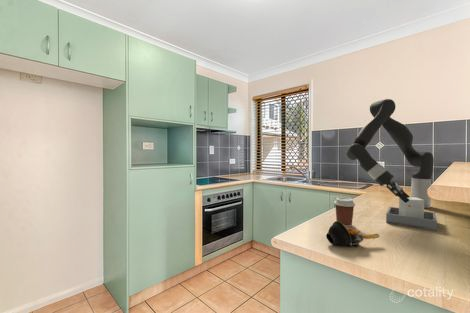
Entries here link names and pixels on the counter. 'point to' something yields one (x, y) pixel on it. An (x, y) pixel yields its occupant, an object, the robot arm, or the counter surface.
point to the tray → (412, 219)
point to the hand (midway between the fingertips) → (407, 199)
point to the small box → (412, 207)
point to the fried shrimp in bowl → (346, 235)
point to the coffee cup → (344, 211)
